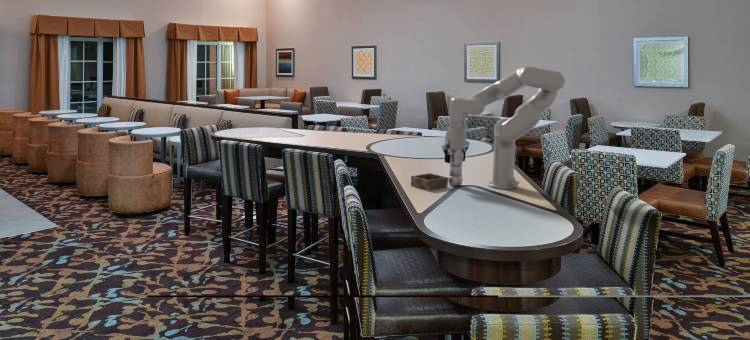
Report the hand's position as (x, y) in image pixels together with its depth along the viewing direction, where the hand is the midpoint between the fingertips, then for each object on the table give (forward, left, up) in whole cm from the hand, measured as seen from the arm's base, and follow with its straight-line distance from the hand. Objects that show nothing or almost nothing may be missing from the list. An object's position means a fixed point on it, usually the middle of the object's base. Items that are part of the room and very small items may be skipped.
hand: (454, 161), depth 266 cm
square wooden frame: (+6, +11, -11) cm, 16 cm away
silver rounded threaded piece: (0, 0, -12) cm, 12 cm away
